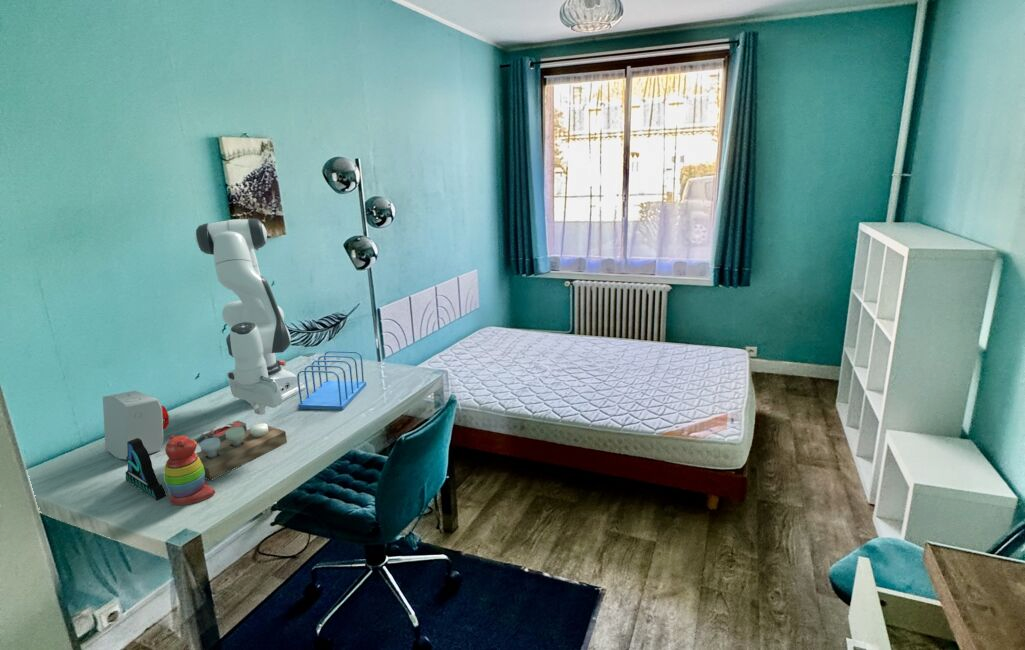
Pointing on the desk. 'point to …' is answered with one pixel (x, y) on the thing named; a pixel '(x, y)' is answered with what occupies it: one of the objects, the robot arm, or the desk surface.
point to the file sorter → (331, 387)
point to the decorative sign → (142, 470)
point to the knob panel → (241, 452)
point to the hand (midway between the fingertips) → (260, 413)
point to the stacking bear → (185, 472)
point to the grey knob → (210, 447)
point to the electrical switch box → (133, 422)
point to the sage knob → (235, 435)
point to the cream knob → (259, 430)
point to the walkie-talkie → (221, 431)
